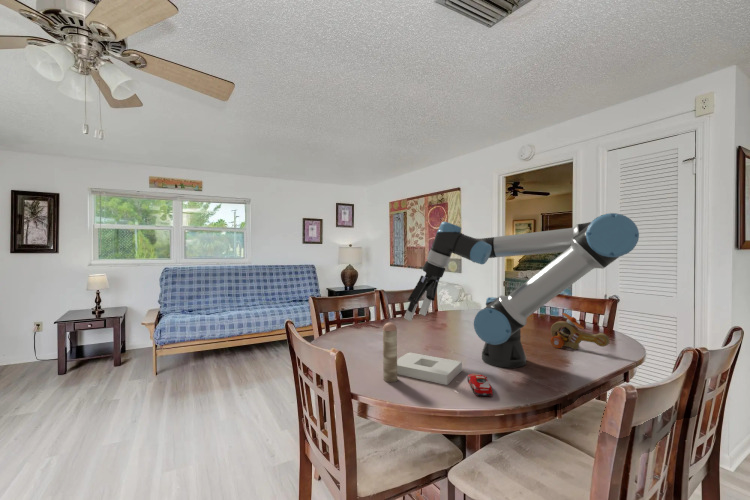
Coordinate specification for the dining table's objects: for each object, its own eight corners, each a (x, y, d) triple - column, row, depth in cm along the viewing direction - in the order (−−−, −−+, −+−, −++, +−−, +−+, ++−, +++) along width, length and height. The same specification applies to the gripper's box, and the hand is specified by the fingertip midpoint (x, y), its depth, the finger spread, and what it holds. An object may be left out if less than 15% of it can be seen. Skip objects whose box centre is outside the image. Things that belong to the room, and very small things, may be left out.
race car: (466, 380, 107) (465, 367, 107) (483, 380, 107) (483, 367, 107) (474, 398, 94) (474, 384, 94) (494, 399, 94) (494, 384, 94)
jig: (461, 370, 115) (461, 361, 115) (447, 385, 103) (447, 375, 103) (408, 360, 125) (408, 352, 125) (390, 372, 114) (390, 363, 114)
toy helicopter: (556, 342, 145) (555, 310, 145) (612, 354, 129) (612, 318, 129) (547, 346, 140) (547, 313, 140) (605, 359, 124) (605, 321, 124)
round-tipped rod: (399, 378, 108) (399, 322, 108) (393, 383, 105) (392, 324, 104) (387, 375, 111) (387, 320, 110) (380, 380, 107) (380, 323, 107)
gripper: (438, 260, 134) (419, 308, 138) (413, 259, 113) (391, 316, 116) (455, 267, 131) (435, 316, 134) (432, 268, 109) (409, 327, 113)
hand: (415, 316), depth 125 cm, fingers open, 13 cm apart
